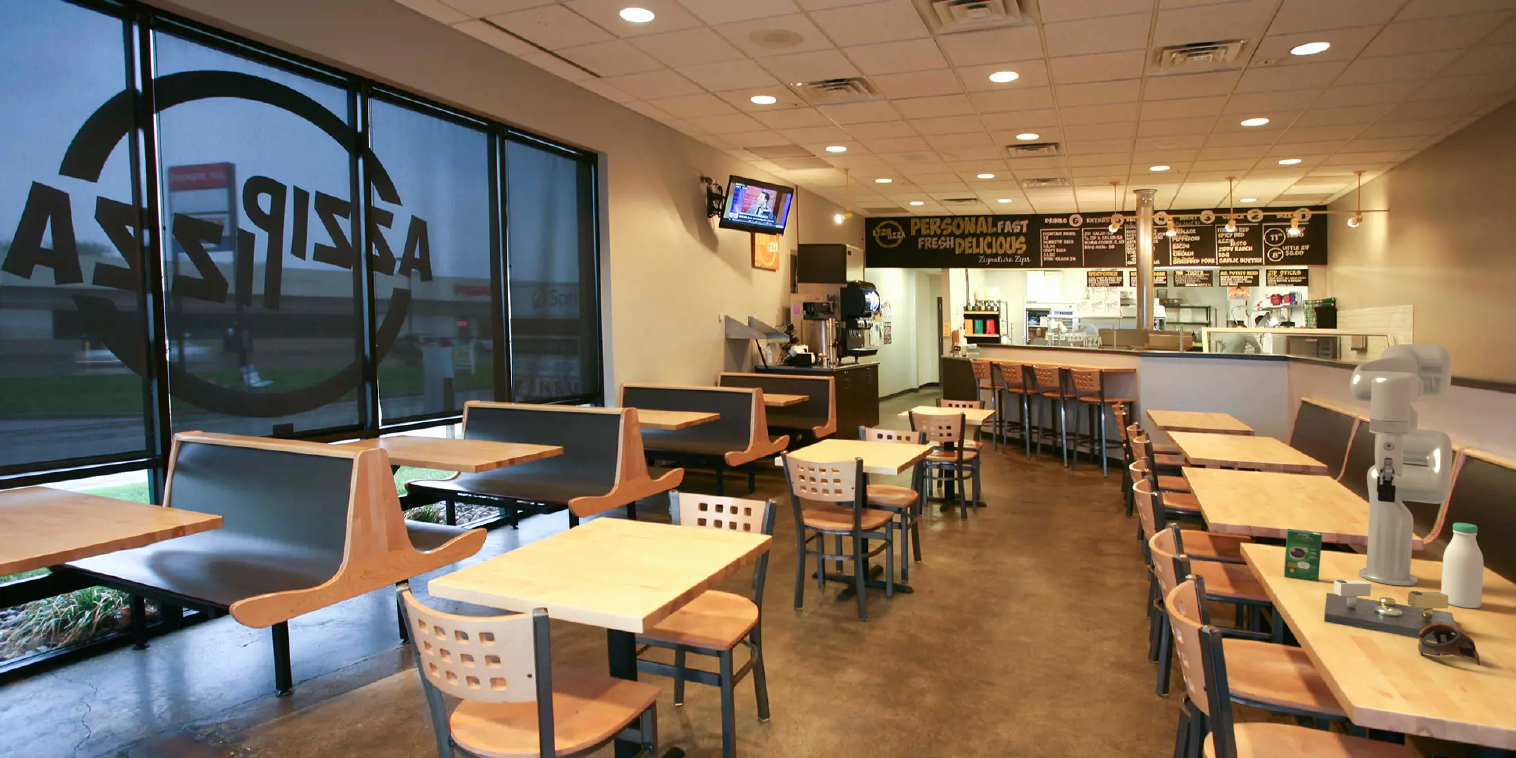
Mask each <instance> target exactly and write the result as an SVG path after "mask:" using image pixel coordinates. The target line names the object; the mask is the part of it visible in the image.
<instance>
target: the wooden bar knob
mask: <svg viewBox="0 0 1516 758" xmlns="http://www.w3.org/2000/svg"><path fill="white" fill-rule="evenodd" d="M1407 606H1412V607H1415V608H1422V618H1424V619H1432V612H1433V610H1434V609H1446V610H1448V609H1449V604H1448V595H1446V594H1443V593H1441V591H1417V590H1411V591H1408V595H1407Z"/></svg>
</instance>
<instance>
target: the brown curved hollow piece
mask: <svg viewBox="0 0 1516 758" xmlns="http://www.w3.org/2000/svg"><path fill="white" fill-rule="evenodd" d="M1431 632H1432V634H1433V635H1434V638H1435V639H1436V641H1435V642H1434V641H1433V642H1431V641H1430V640H1426V639H1424V637H1425V636H1426V635H1427V634H1429V633H1431ZM1451 633H1455V635H1452V634H1451ZM1419 636H1420V638H1418V639H1419V640H1418V645H1417V649H1418V652H1419V654H1420V656H1421V657H1423V656H1424V654H1425V655H1431V656H1436V657H1439V656H1449V655H1455V656H1459V657H1462V656H1463V657H1464V656H1465V657H1469V658H1472V659H1473V660H1475V662H1476V666H1477V665H1478V666H1481V662H1480V655H1479V652H1478V651H1477V648H1476V644H1475V642H1474V640H1473V639H1472V638H1471V637H1470V636H1469V635H1468V634H1467V633H1465V632H1464V631H1462V630H1460V628H1459V627H1457V625H1456V626H1454V625H1452V624H1447V623H1442V622H1439V623H1436V624H1432V625H1428V626H1426V627H1424V628H1423V629H1422V630H1421V631H1420V632H1419Z"/></svg>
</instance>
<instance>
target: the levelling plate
mask: <svg viewBox="0 0 1516 758" xmlns="http://www.w3.org/2000/svg"><path fill="white" fill-rule="evenodd" d="M1396 602H1397V601H1396V599H1394V598H1392V597H1388V596H1381V597H1379V600H1375V599H1374V600H1373V599H1369V598H1362V597H1358V596H1356V607H1351V606H1347V596H1339V595H1337V594H1335V593H1331V592H1326V598H1325V606H1324V617H1323V618H1324V620H1323V621H1324V622H1325V623H1331V624H1337V625H1343V626H1347V627H1354V628H1359V629H1364V630H1369V631H1376V632H1380V633H1387V634H1391V635H1397V634H1399V636H1404V637H1409V638H1414V637H1415V638H1416V639H1420V636H1419V632H1420V631H1421V630H1422V629H1423V628H1424V627H1426V626H1428V625H1432V624H1436V623H1439V622H1442V623H1447V624H1452V625H1454V626H1456V627H1457V625H1456V621H1455V619H1454V616H1453V615H1454V614H1453V613H1452V612H1449V611H1444V610H1443V611H1442V610H1438V609H1437V610H1436V609H1433V612H1432V619H1424V618H1422V608H1415V607H1412V606H1410V605H1408V604H1407V605H1405V604H1399V603H1396ZM1451 634H1452V635H1455V633H1451ZM1424 639H1425V640H1427V641H1430V642H1431V641H1433V642H1437V641H1436V639H1435V638H1434V635H1433V634H1432V632H1431V633H1429V634H1427V635H1426V636H1425V637H1424Z"/></svg>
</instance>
